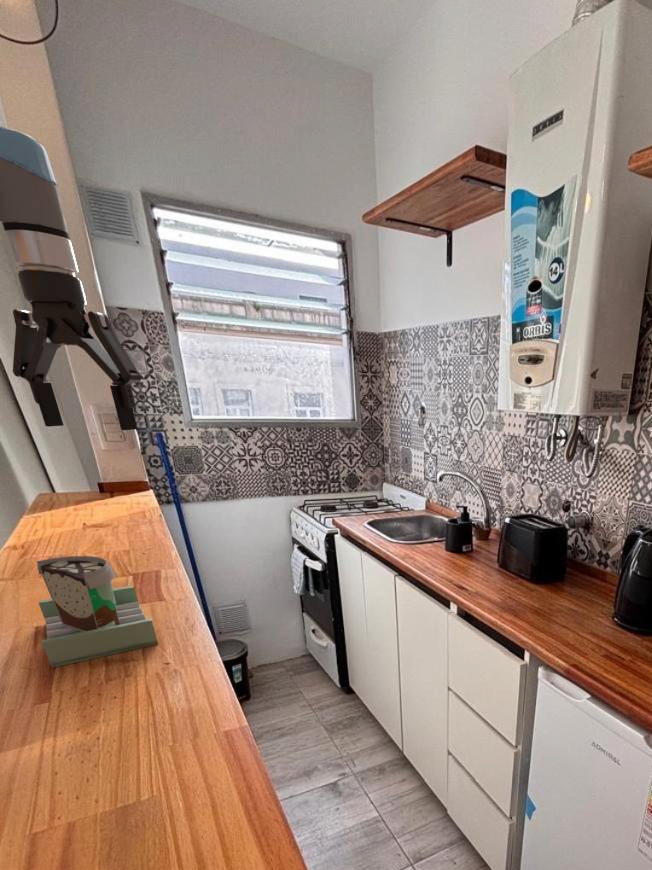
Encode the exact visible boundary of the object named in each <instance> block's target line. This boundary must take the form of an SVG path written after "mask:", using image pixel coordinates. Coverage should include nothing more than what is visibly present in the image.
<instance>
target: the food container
mask: <svg viewBox="0 0 652 870" xmlns="http://www.w3.org/2000/svg"><path fill="white" fill-rule="evenodd" d="M36 564H37V565H36V567H37V571H38V574H39V575H41V576H42V579H43V582H44V583H45V586H46V588H47V591H48V592H49V595H50V599H52V601H53V603H54V605H55V608H56V610H57V613H58V615H59V617H60V620H61V622H62V625H64V626H67V627H70V628H73V629H75V630H78V631H81V632H85V631H90V630H95V629H100V628H105V627H110V626H115V625H120V622H119V617H118V612H117V607H116V602H115V597H114V592H113V589H114V588H113V582H112V581H113V579H115V577H116V573H115V571H114V570H113V568H112V566H111V564H109V562H108V561H107V560H106V559H105V558H102V557H99V556H90V555H73V556H72V555H71V556H70V555H69V556H60V557H59V556H58V557H53V558H46V559H42V560H36Z"/></svg>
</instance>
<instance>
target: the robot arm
mask: <svg viewBox="0 0 652 870" xmlns="http://www.w3.org/2000/svg"><path fill="white" fill-rule="evenodd" d="M58 187H59V185H58V182H57V181H56V178H55V175H54V172H53V169H52V165H51V162H50V159H49V156H48V152H47V150H46V148H45V147H44V146H43V145H42V144H41V143H40V142H39V140H36V139H35V138H34V137H32V136H31V135H28V134H27V133H24V132H21V131H19V130H16V129H12V128H8V127H5V126H0V222H1V224H2V227H3V230H4V232H5V236H6V240H7V243H8V247H9V250H10V254H11V257H12V261H13V264H14V265H15V266H16V267H17V268H20V270H19V271H18V272H17V277H18V280H19V283H20V287H21V290H22V294H23V297H24V299H25V300H26V301H27V302H29V303H30V305H31V308H32V309H31V311H29V310H22V309H17V308H15V309H13V310H12V315H13V319H14V324H15V334H14V347H13V361H12V374H13V375H14V376H15V377H17V378H22V379H24V380H25V381H26V382H28V385H29V387H30V390H31V393H32V397H33V399H34V401H35V403H36V404H37V405H38V406H39V409H40V413H41V416H42V420H43V422H44V425H45V427H60V426H61V427H63V426H65V425H64V422H63V419H62V415H61V412H60V411H61V410H60V408H59V406H58V405H59V404H58V402H57V401H58V400H57V398H56V396H55V392H54V388H53V385H52V382H49V381H50V380H49V379H48V378H47V376H48V373H49V372H50V371H49V370H50V368H51V366H52V363H53V362H54V361H53V360H54V358H55V355H56V353H57V350H58V349H59V348H61V347H62V346H76V347H77V346H78V348H81V349H83V351H84V352H85V353H86V354H87V355H88V356H89V357H90V359H92V361H94V363H95V364H96V365H97V366H98V367H99V368H100V369H101V370H102V372H103V373H105V375H106V376H107V377H108V378H109V379H110V380H111V381H112V383H111V384H110V385H109V387H110V388H109V389H110V391H111V395H112V399H113V403H114V407H115V411H116V414H117V415H116V416H117V419H118V422H119V427H120V430H121V431H131V430H138V425H137V420H136V417H135V413H134V409H133V408H135V407H136V402H135V398H134V393H133V390H132V385H133V384H135V383H137V382H140V381H141V380H142V375H141V374H140V372H139V371H138V369H137V368H136V366H135V364H134V363H133V361H132V359H131V357H130V356H129V355H128V353H127V352H126V350H125V348H124V347H123V345H122V343H121V342H120V340H119V339H118V338H117V336H116V334H115V333H114V331H113V329H112V326H111V323H110V319H109V317H108V315H107V314H106V313H104V312H97V311H92V310H89V311H88V312H87V311H86V308H85V307H86V306H87V305H88V303H87V299H86V294H85V291H84V287H83V282H82V280H81V279H80V278H79V277H77V276H76V274H78V273H79V269H78V265H77V261H76V257H75V253H74V248H73V245H72V242H71V238H70V234H69V231H68V227H67V223H66V219H65V214H64V209H63V205H62V202H61V198H60V195H59V189H58ZM90 328H91V329H92V330H93V333H94V334H93V333H92V332H91V331H90ZM95 336H96V337H97V338H96V337H95ZM101 345H102V346H101Z"/></svg>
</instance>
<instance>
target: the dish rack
mask: <svg viewBox="0 0 652 870" xmlns="http://www.w3.org/2000/svg"><path fill="white" fill-rule="evenodd" d="M113 592H114V597H115V602H116V607H117V612H118V617H119V622H120V625H115V626H110V627H105V628H100V629H95V630H90V631H85V632H81V631H78V630H75V629H73V628H70V627H67V626H64V625H62V622H61V620H60V617H59V615H58V613H57V610H56V608H55V605H54V603H53V601H52V598H49V599H43V600H38V605H39V609H40V611H41V613H42V616H43V618H44V621H45V628H46V630H45V631H46V638H45V639H41V644H42V647H43V649H44V651H45V654H46V657H47V659H48V662H49V665H50V667H51V668H52V669H54V668H58V667H59V668H60V667H63V666H67V665H72V664H76V663H80V662H85V661H90V660H95V659H98V658H102V657H107V656H111V655H112V656H113V655H116V654H121V653H125V652H130V651H134V650H139V649H143V648H148V647H152V646H156V645H159V641H158V637H157V634H156V629H155V627H154V621H153V619H152V618H147V617H146V615H145V613H144V611H143V609H142V607H141V605H140V603H139V599H138V598H139V597H138V595H137V591H136V588H135V586H134V585H129V586H122V587H115V588H113ZM74 662H75V663H74ZM69 663H70V664H69Z"/></svg>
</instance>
